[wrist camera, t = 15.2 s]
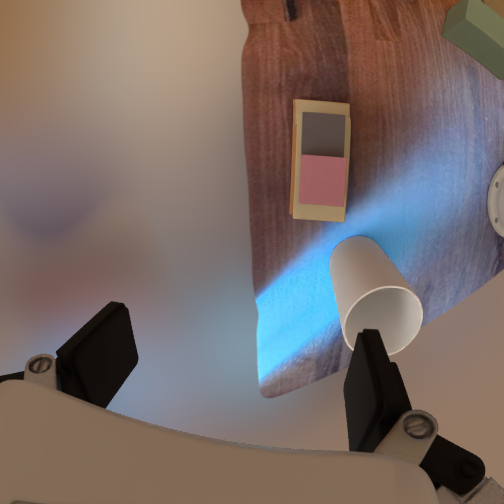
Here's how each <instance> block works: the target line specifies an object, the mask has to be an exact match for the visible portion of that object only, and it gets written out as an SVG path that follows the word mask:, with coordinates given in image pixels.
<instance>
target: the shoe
mask: <svg viewBox="0 0 504 504" xmlns="http://www.w3.org/2000/svg"><path fill="white" fill-rule="evenodd" d="M302 112H315V113H327V114H338V115H345V144H344V158H347V170H346V185H345V198H344V207H338V206H326V205H313V204H300V203H299V189H300V168H301V143H302ZM350 134H351V118H350V104H347V103H338V102H328V101H316V100H301V99H294V104H293V142H292V169H291V192H290V211H289V214H290V215H293V219H306V220H320V221H332V222H345V211H346V200H347V188H348V174H349V157H350Z"/></svg>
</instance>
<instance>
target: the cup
mask: <svg viewBox="0 0 504 504" xmlns="http://www.w3.org/2000/svg"><path fill="white" fill-rule="evenodd" d="M329 271H330V275H331V280H332V284H333V289H334V293H335V298H336V302H337V307H338V312H339V317H340V322H341V327H342V332H343V336H344V339H345V341H346V343H347V345H348V346H349V347H350V348H351V349H352V350H354V346H355V342H356V338H357V334H358V333H359V332H362V331H363V329H378V330H379V332H380V335H381V338H382V340H383V343H384V346H385V349H386V351H387V354H388V356H390V355H393V354H395V353H397V352H399V351H400V350H402V349H403V348H405V347H406V346H407V345H408V344H409V343H410V342H411V341H412V340H413V339H414V338H415V336H416V335H417V333H418V331H419V329H420V327H421V324H422V319H423V310H422V305H421V303H420V300H419V298H418V297H417V295H416V294H415V292H414V291H413V290H412V288H411V287H410V285H409V284H408V283H407V281H406V280H405V279H404V277H403V276H402V275H401V273H400V272H399V271H398V269H397V268H396V267H395V265H394V264H393V263H392V261H391V260H390V259H389V258H388V256H387V255H386V254H385V252H384V251H383V250H382V249H381V247H380V246H379V245H378V244H377V243H376V242H375V241H374V240H372V239H370V238H368V237H364V236H353V237H349V238H347V239H345V240H343V241H341V242H340V243H339V244H338V245H337V246H336V247H335V248H334V250H333V251H332V253H331V256H330V259H329Z"/></svg>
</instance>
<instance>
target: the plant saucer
mask: <svg viewBox="0 0 504 504" xmlns="http://www.w3.org/2000/svg"><path fill="white" fill-rule="evenodd" d="M482 2H483V3H485V4H486V5H487V6H488V7H490V8H491V9H492V10H493V11H495V12H496V13H497V14H498V15H500V16H501V17H502V18H503V19H504V0H482Z"/></svg>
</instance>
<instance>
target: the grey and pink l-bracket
mask: <svg viewBox="0 0 504 504" xmlns="http://www.w3.org/2000/svg"><path fill="white" fill-rule="evenodd" d="M344 144H345V115H338V114H327V113H315V112H302V143H301V168H300V189H299V203H300V204H313V205H326V206H338V207H344V198H345V185H346V170H347V158H344Z"/></svg>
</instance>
